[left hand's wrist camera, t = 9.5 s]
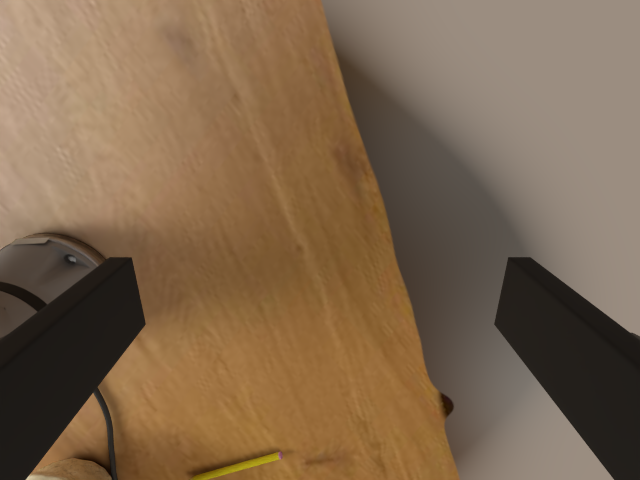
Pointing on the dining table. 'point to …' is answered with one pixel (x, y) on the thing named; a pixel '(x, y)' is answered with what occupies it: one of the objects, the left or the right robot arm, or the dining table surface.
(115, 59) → the dining table surface
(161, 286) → the dining table surface
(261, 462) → the pencil
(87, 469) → the bowl
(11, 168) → the dining table surface
